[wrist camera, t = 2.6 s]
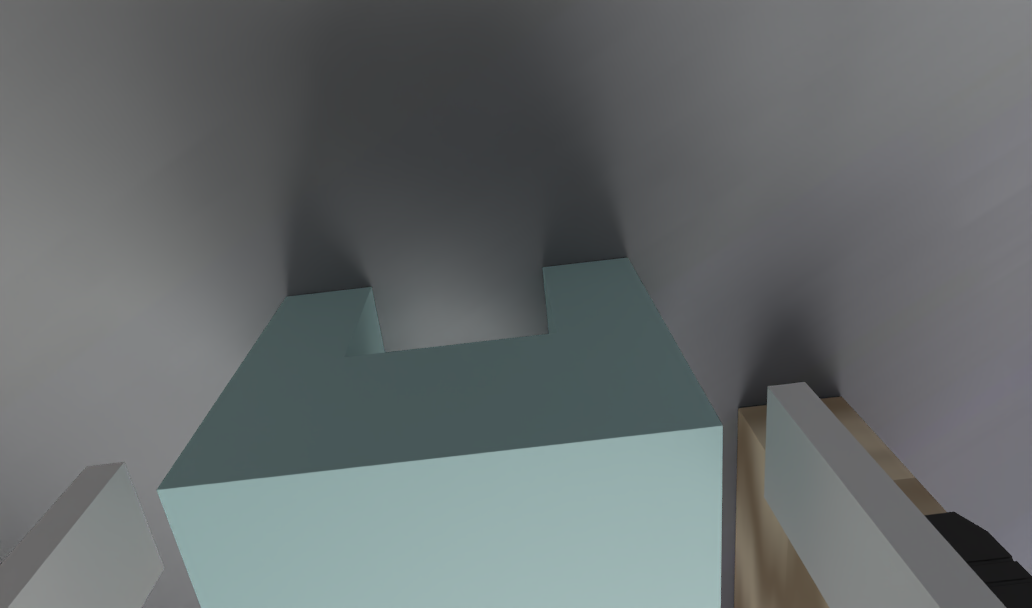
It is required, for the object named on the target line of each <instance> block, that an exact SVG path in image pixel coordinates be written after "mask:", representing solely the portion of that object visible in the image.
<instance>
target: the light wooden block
mask: <svg viewBox="0 0 1032 608" xmlns="http://www.w3.org/2000/svg"><path fill="white" fill-rule="evenodd" d="M821 400H822V402H823V403H824V404H825V405H826V406H827V407H828V408H829V409H830V410H831V412H832V413H833V414H834V415H835V416H836V417H837V418H838V419H839V421H840V422H841V423H842V424H843V425H844V426H845V427H846V428H847V430H848V431H849V432H850V433H851V434H852V435H853V436H854V437H855V439H856V440H857V441H858V442H859V443H860V444H861V445H862V446H863V447H864V449H865V450H866V451H867V452H868V453H869V454H870V455H871V456H872V458H873V459H874V460H875V461H876V462H877V463H878V464H879V465H880V467H881V468H882V469H883V470H884V471H885V472H886V473H887V474H888V475H889V477H890V478H891V479H892V480H893V481H894V482H895V483H896V484H897V486H898V487H899V488H900V489H901V490H902V491H903V492H904V493H905V495H906V496H907V497H908V498H909V499H910V500H911V501H912V502H913V504H914V505H915V506H916V507H917V508H918V509H919V510H920V511H921V512H922V514H923V515H931V514H939V513H947V512H946V511H945V510H944V509H943V508H942V506H941V505H940V504H939V503H938V502H937V501H936V500H935V499H934V498H933V497H932V495H931V494H930V493H929V492H928V491H927V490H926V489H925V488H924V487H923V486H922V484H921V483H920V482H919V481H918V480H917V479H916V478H915V477H914V476H913V475H912V473H911V472H910V471H909V470H908V469H907V468H906V467H905V466H904V465H903V464H902V462H901V461H900V460H899V459H898V458H897V457H896V456H895V455H894V454H893V453H892V451H891V450H890V449H889V448H888V447H887V446H886V445H885V444H884V443H883V442H882V440H881V439H880V438H879V437H878V436H877V435H876V434H875V433H874V432H873V431H872V429H871V428H870V427H869V426H868V425H867V424H866V423H865V422H864V421H863V420H862V418H861V417H860V416H859V415H858V414H857V413H856V412H855V411H854V410H853V409H852V407H851V406H850V405H849V404H848V403H847V402H846V401H845V400H844V399H843V398H842V396H841V397H832V398H824V399H821ZM766 419H767V405H762V406H753V407H745V408H738V448H737V494H736V541H735V587H734V608H829V606H828V604H827V603H826V601H825V599H824V598H823V596H822V594H821V593H820V591H819V589H818V587H817V586H816V584H815V582H814V581H813V579H812V577H811V576H810V574H809V572H808V571H807V569H806V567H805V566H804V564H803V562H802V560H801V559H800V557H799V555H798V554H797V552H796V550H795V549H794V547H793V545H792V544H791V542H790V540H789V539H788V537H787V535H786V533H785V532H784V530H783V528H782V527H781V525H780V523H779V522H778V520H777V518H776V517H775V515H774V513H773V511H772V510H771V508H770V506H769V505H768V503H767V501H766V500H765V498H764V481H765V450H766Z"/></svg>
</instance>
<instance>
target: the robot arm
mask: <svg viewBox="0 0 1032 608" xmlns="http://www.w3.org/2000/svg"><path fill="white" fill-rule="evenodd" d="M764 498H765V500H766V501H767V503H768V505H769V506H770V508H771V510H772V511H773V513H774V515H775V517H776V518H777V520H778V522H779V523H780V525H781V527H782V528H783V530H784V532H785V533H786V535H787V537H788V539H789V540H790V542H791V544H792V545H793V547H794V549H795V550H796V552H797V554H798V555H799V557H800V559H801V560H802V562H803V564H804V566H805V567H806V569H807V571H808V572H809V574H810V576H811V577H812V579H813V581H814V582H815V584H816V586H817V587H818V589H819V591H820V593H821V594H822V596H823V598H824V599H825V601H826V603H827V604H828V606H829V608H1032V576H1031V575H1030V574H1029V573H1028V572H1027V571H1026V570H1025V569H1024V568H1023V567H1022V566H1021V565H1020V564H1019V563H1018V562H1017V561H1015V562H1014V561H1013V559H1012V556H1011V555H1010V554H1009V553H1008V552H1007V551H1006V550H1005V549H1004V548H1003V547H1002V546H1001V545H1000V544H999V543H998V542H997V541H996V540H995V539H994V538H993V537H992V535H991V534H990V533H989V532H988V531H986V530H984V529H982V528H981V527H979V526H977V525H976V524H974V523H972V522H971V521H969V520H967V519H965V518H964V517H962V516H960V515H959V514H957V513H955V512H947V513H939V514H931V515H923V514H922V512H921V511H920V510H919V509H918V508H917V507H916V506H915V505H914V504H913V502H912V501H911V500H910V499H909V498H908V497H907V496H906V495H905V493H904V492H903V491H902V490H901V489H900V488H899V487H898V486H897V484H896V483H895V482H894V481H893V480H892V479H891V478H890V477H889V475H888V474H887V473H886V472H885V471H884V470H883V469H882V468H881V467H880V465H879V464H878V463H877V462H876V461H875V460H874V459H873V458H872V456H871V455H870V454H869V453H868V452H867V451H866V450H865V449H864V447H863V446H862V445H861V444H860V443H859V442H858V441H857V440H856V439H855V437H854V436H853V435H852V434H851V433H850V432H849V431H848V430H847V428H846V427H845V426H844V425H843V424H842V423H841V422H840V421H839V419H838V418H837V417H836V416H835V415H834V414H833V413H832V412H831V410H830V409H829V408H828V407H827V406H826V405H825V404H824V403H823V402H822V400H821V399H820V398H819V397H818V396H817V395H816V394H815V393H814V391H813V390H812V389H811V388H810V387H809V386H808V385H807V384H806V382H800V383H791V384H783V385H774V386H768V388H767V419H766V450H765V481H764ZM163 570H164V565H163V563H162V560H161V558H160V555H159V552H158V550H157V547H156V544H155V542H154V539H153V536H152V534H151V531H150V529H149V526H148V523H147V521H146V518H145V515H144V513H143V510H142V507H141V505H140V502H139V500H138V497H137V494H136V492H135V489H134V486H133V484H132V481H131V478H130V476H129V473H128V470H127V468H126V465H125V463H124V462H120V463H111V464H103V465H94V466H87V467H86V468H85V469H84V470H83V471H82V472H81V473H80V475H79V476H78V477H77V478H76V479H75V480H74V481H73V483H72V484H71V485H70V486H69V487H68V488H67V489H66V491H65V492H64V493H63V494H62V495H61V496H60V497H59V499H58V500H57V501H56V502H55V503H54V504H53V505H52V507H51V508H50V509H49V510H48V511H47V512H46V513H45V514H44V516H43V517H42V518H41V519H40V520H39V521H38V522H37V524H36V525H35V526H34V527H33V528H32V529H31V530H30V532H29V533H28V534H27V535H26V536H25V537H24V538H23V540H22V541H21V542H20V543H19V544H18V545H17V546H16V548H15V549H14V550H13V551H12V552H11V553H10V554H9V556H8V557H7V558H6V559H5V560H4V561H3V562H2V564H1V565H0V608H142V606H143V605H144V603H145V601H146V599H147V598H148V596H149V594H150V592H151V591H152V589H153V587H154V585H155V584H156V582H157V580H158V578H159V577H160V575H161V573H162V571H163Z"/></svg>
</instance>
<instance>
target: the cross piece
mask: <svg viewBox="0 0 1032 608" xmlns="http://www.w3.org/2000/svg"><path fill="white" fill-rule="evenodd" d="M542 269H543V280H544V290H545V300H546V310H547V321H548V331H549V334H543V335H534V336H525V337H517V338H508V339H499V340H490V341H482V342H473V343H464V344H455V345H447V346H438V347H429V348H420V349H412V350H403V351H394V352H385V350H384V345H383V340H382V335H381V330H380V326H379V321H378V316H377V311H376V306H375V301H374V296H373V291H372V287H366V288H357V289H348V290H340V291H331V292H322V293H314V294H305V295H296V296H287V297H286V298H285V300H284V301H283V303H282V304H281V306H280V307H279V308H278V310H277V311H276V313H275V314H274V316H273V317H272V319H271V320H270V322H269V323H268V325H267V326H266V328H265V329H264V331H263V332H262V334H261V335H260V337H259V338H258V340H257V341H256V343H255V344H254V346H253V347H252V349H251V350H250V352H249V353H248V355H247V356H246V358H245V359H244V361H243V362H242V364H241V365H240V367H239V368H238V370H237V371H236V373H235V374H234V376H233V377H232V379H231V380H230V382H229V383H228V384H227V386H226V387H225V389H224V390H223V392H222V393H221V395H220V396H219V398H218V399H217V401H216V402H215V404H214V405H213V407H212V408H211V410H210V411H209V413H208V414H207V416H206V417H205V419H204V420H203V422H202V423H201V425H200V426H199V428H198V429H197V431H196V432H195V434H194V435H193V437H192V438H191V440H190V441H189V443H188V444H187V446H186V447H185V449H184V450H183V452H182V453H181V455H180V456H179V458H178V459H177V460H176V462H175V463H174V465H173V466H172V468H171V469H170V471H169V472H168V474H167V475H166V477H165V478H164V480H163V481H162V483H161V484H160V486H159V487H158V489H157V492H158V495H159V498H160V500H161V503H162V506H163V508H164V511H165V514H166V516H167V519H168V521H169V524H170V527H171V529H172V532H173V535H174V537H175V540H176V543H177V545H178V548H179V551H180V553H181V556H182V558H183V561H184V564H185V566H186V569H187V572H188V574H189V577H190V580H191V582H192V585H193V587H194V590H195V593H196V595H197V598H198V601H199V603H200V606H201V608H721V538H722V452H723V425H722V423H721V422H720V420H719V418H718V416H717V415H716V413H715V411H714V409H713V407H712V406H711V404H710V402H709V400H708V399H707V397H706V395H705V393H704V392H703V390H702V388H701V386H700V384H699V383H698V381H697V379H696V377H695V376H694V374H693V372H692V370H691V369H690V367H689V365H688V363H687V361H686V360H685V358H684V356H683V354H682V353H681V351H680V349H679V347H678V346H677V344H676V342H675V340H674V338H673V337H672V335H671V333H670V331H669V330H668V328H667V326H666V324H665V323H664V321H663V319H662V317H661V316H660V314H659V312H658V310H657V308H656V307H655V305H654V303H653V301H652V300H651V298H650V296H649V294H648V293H647V291H646V289H645V287H644V285H643V284H642V282H641V280H640V278H639V277H638V275H637V273H636V271H635V270H634V268H633V266H632V264H631V262H630V261H629V259H628V258H619V259H610V260H602V261H593V262H584V263H575V264H567V265H558V266H549V267H542Z"/></svg>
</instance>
